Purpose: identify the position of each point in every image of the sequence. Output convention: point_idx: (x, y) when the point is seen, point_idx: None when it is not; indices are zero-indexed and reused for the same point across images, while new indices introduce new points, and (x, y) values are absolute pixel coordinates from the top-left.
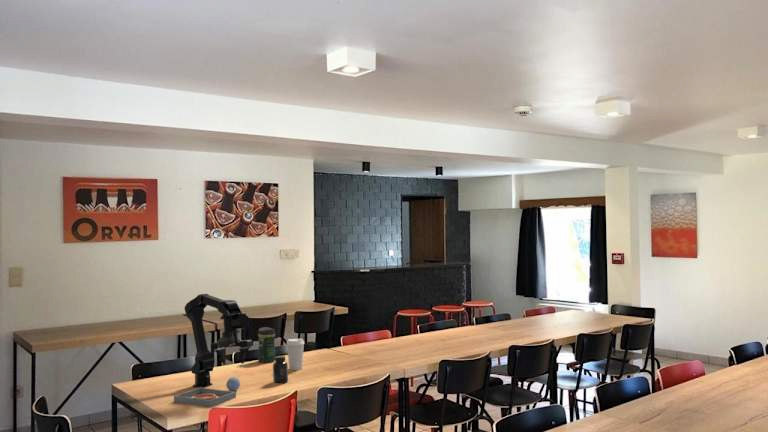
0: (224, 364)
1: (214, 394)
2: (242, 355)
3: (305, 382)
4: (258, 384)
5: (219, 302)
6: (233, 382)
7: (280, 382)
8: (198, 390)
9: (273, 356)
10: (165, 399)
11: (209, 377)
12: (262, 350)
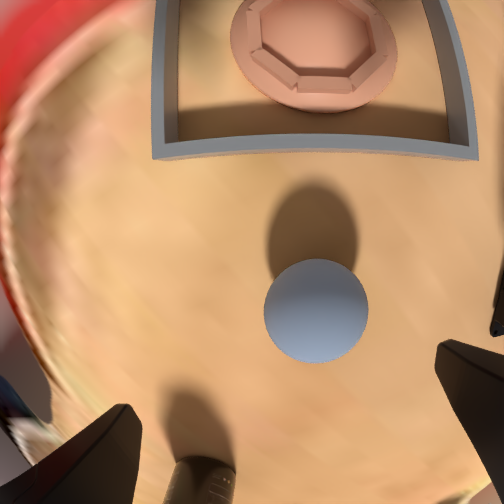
0: (437, 351)
1: (290, 77)
2: (29, 474)
3: None
4: (269, 433)
5: None
6: (285, 288)
7: (184, 459)
8: (461, 127)
9: None
10: (486, 17)
11: None
12: None
